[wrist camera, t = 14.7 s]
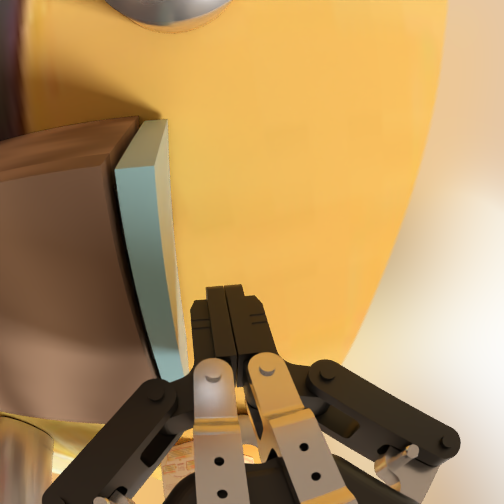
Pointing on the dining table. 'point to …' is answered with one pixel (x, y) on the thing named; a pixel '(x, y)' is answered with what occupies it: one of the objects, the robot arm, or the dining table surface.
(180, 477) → the coffeecake box
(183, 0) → the shiny metal cylinder
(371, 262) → the dining table surface
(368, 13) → the dining table surface
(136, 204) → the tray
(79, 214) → the housing
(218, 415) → the robot arm
